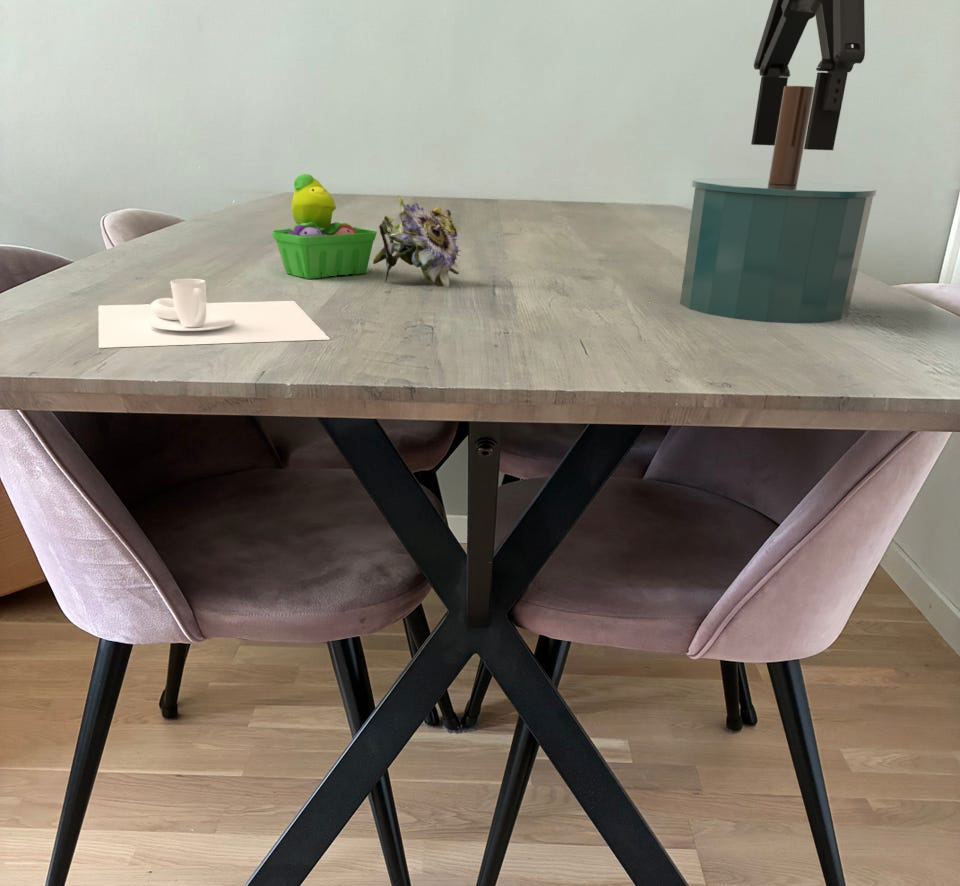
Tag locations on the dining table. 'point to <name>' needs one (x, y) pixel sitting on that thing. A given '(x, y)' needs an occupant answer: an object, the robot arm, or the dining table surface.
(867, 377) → the dining table surface
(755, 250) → the pot
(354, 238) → the fruit basket
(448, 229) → the passion flower
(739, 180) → the lid
